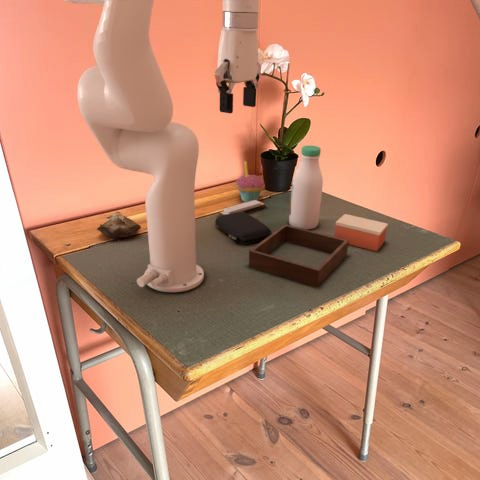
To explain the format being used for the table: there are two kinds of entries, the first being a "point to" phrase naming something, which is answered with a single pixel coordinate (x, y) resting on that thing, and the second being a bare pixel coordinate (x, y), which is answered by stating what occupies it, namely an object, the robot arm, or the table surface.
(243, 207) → the harmonica
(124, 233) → the fossilized seashell
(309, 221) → the milk bottle
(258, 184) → the cupcake
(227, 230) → the carrying case
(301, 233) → the wooden box
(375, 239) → the lunchbox
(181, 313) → the table surface
